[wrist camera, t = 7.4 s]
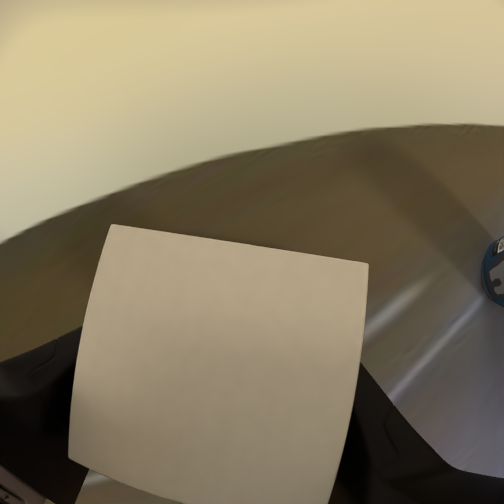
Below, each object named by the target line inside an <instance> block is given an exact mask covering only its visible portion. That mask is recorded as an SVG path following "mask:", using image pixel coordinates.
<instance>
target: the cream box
mask: <svg viewBox="0 0 504 504" xmlns="http://www.w3.org/2000/svg"><path fill="white" fill-rule="evenodd" d="M368 269H369V265H368V264H367V263H362V262H356V261H350V260H343V259H337V258H331V257H325V256H318V255H312V254H306V253H299V252H293V251H287V250H280V249H274V248H267V247H261V246H254V245H248V244H241V243H235V242H228V241H222V240H215V239H209V238H202V237H195V236H189V235H182V234H176V233H169V232H162V231H155V230H149V229H142V228H135V227H128V226H121V225H115V224H112V225H111V226H110V229H109V232H108V235H107V238H106V241H105V244H104V248H103V251H102V254H101V257H100V261H99V264H98V268H97V271H96V275H95V278H94V282H93V286H92V290H91V294H90V298H89V302H88V306H87V310H86V315H85V319H84V324H83V329H82V334H81V339H80V344H79V350H78V356H77V362H76V368H75V375H74V383H73V391H72V401H71V411H70V425H69V446H68V457H69V458H70V459H71V460H73V461H75V462H77V463H79V464H81V465H83V466H85V467H87V468H89V469H91V470H93V471H95V472H97V473H99V474H101V475H104V476H106V477H108V478H111V479H113V480H115V481H118V482H120V483H123V484H125V485H128V486H130V487H133V488H136V489H138V490H141V491H144V492H147V493H150V494H153V495H156V496H159V497H162V498H166V499H169V500H172V501H176V502H180V503H183V504H328V502H329V499H330V495H331V492H332V489H333V486H334V482H335V479H336V475H337V472H338V468H339V464H340V461H341V457H342V453H343V449H344V444H345V440H346V436H347V431H348V427H349V422H350V417H351V412H352V407H353V402H354V396H355V391H356V385H357V379H358V372H359V365H360V358H361V351H362V342H363V334H364V324H365V314H366V302H367V288H368Z"/></svg>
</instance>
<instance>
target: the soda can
mask: <svg viewBox="0 0 504 504" xmlns="http://www.w3.org/2000/svg"><path fill="white" fill-rule="evenodd" d="M482 280H483V284H484V287H485V290H486V292H487V294H488V295H489V297H490V298H491V299H492V300H493V301H495V302H496V303H498V304H499V305H501V306H504V236H503V237H501V238H500V239H498V240H497V241H495V242H493V243H492V244H491V245H490V246H489V248H488V250H487V252H486V254H485V257H484V260H483V263H482Z"/></svg>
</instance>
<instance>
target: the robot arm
mask: <svg viewBox="0 0 504 504" xmlns="http://www.w3.org/2000/svg"><path fill="white" fill-rule="evenodd" d="M82 329H83V326H81V327H79V328H77V329H75V330H73V331H71V332H69V333H67V334H65V335H63V336H61V337H59V338H58V339H55V340H52V341H50V342H48V343H46V344H44V345H42V346H40V347H38V348H35V349H33V350H31V351H28V352H26V353H23V354H21V355H18V356H15V357H13V358H10V359H7V360H5V361H2V362H0V504H44V502H45V500H46V498H47V499H49V500H50V501H52V502H54V503H55V504H75V502H76V499H77V497H78V494H79V492H80V489H81V487H82V485H83V482H84V480H85V478H86V475H87V473H88V471H89V468H87V467H85V466H83V465H81V464H79V463H77V462H75V461H73V460H71V459H70V458H69V457H68V446H69V425H70V411H71V401H72V391H73V383H74V375H75V368H76V362H77V356H78V350H79V344H80V339H81V334H82ZM392 405H393V403H392V402H391V400H390V399H389V398H388V397H387V395H386V394H385V393H384V392H383V390H382V389H381V388H380V386H379V385H378V384H377V383H376V381H375V380H374V379H373V378H372V376H371V375H370V374H369V372H368V371H367V370H366V369H365V367H364V366H363V365H362V364H361V362H360V365H359V372H358V379H357V385H356V391H355V396H354V402H353V407H352V412H351V417H350V422H349V427H348V431H347V436H346V440H345V444H344V449H343V453H342V457H341V461H340V464H339V468H338V472H337V475H336V479H335V482H334V486H333V489H332V492H331V495H330V499H329V502H328V504H504V478H498V477H492V476H486V475H481V474H476V473H471V472H466V471H462V470H459V469H456V468H454V467H452V466H451V465H449V464H448V463H447V462H446V461H444V460H443V459H442V458H441V457H440V456H439V455H438V454H437V453H436V452H435V450H434V449H433V448H432V447H431V446H430V445H429V444H428V443H427V442H426V441H425V440H424V439H423V438H422V437H421V436H420V435H419V434H418V433H417V432H416V431H415V430H414V428H413V427H412V426H411V425H410V424H409V423H408V422H407V420H406V419H405V418H404V417H403V416H402V414H401V413H400V412H399V411H398V409H397V408H396V407H395V406H394V405H393V406H392Z"/></svg>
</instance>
